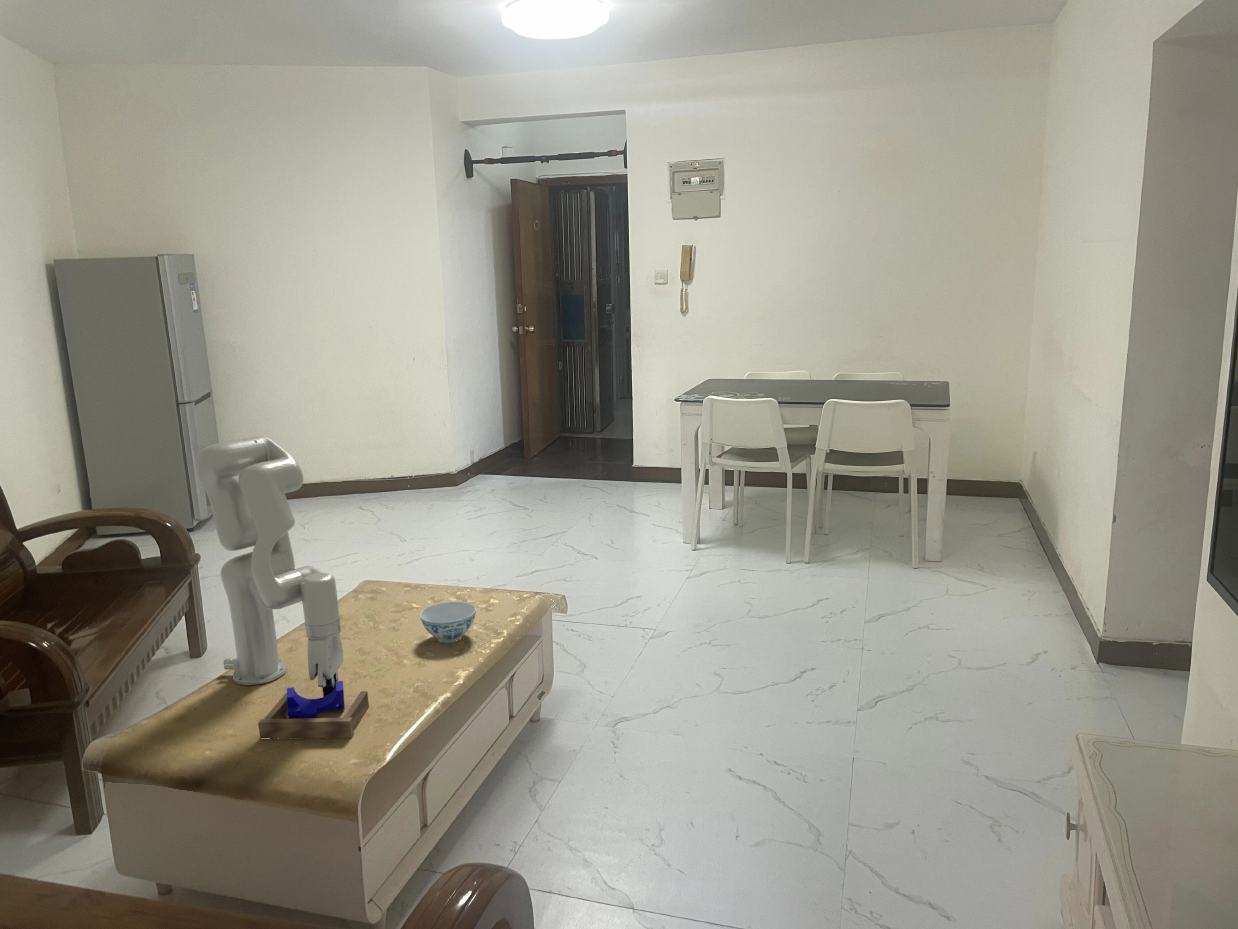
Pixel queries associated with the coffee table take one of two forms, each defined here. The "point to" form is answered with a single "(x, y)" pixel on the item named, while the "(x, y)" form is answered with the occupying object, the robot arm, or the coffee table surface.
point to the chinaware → (448, 620)
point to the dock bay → (312, 722)
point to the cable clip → (314, 703)
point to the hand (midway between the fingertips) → (332, 700)
